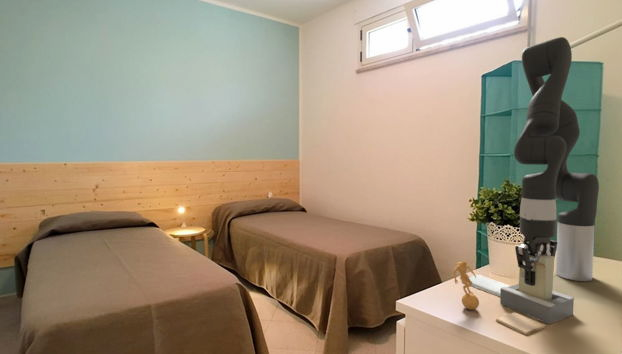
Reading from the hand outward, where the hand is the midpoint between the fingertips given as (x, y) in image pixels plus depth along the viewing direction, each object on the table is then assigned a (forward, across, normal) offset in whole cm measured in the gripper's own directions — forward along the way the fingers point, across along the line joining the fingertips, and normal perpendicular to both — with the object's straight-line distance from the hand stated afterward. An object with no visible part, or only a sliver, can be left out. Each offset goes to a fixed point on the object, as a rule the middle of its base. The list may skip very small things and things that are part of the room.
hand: (535, 282), depth 85 cm
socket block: (+7, 0, 0) cm, 7 cm away
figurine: (+7, +15, -8) cm, 18 cm away
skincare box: (+5, 0, 0) cm, 5 cm away
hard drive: (+8, -3, -15) cm, 17 cm away
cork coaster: (+7, +11, +3) cm, 13 cm away
